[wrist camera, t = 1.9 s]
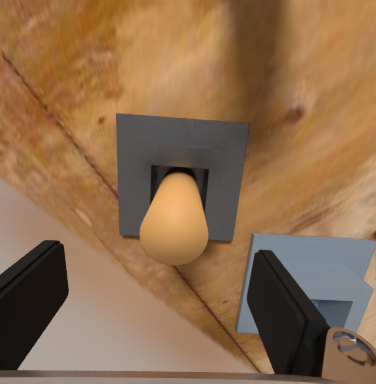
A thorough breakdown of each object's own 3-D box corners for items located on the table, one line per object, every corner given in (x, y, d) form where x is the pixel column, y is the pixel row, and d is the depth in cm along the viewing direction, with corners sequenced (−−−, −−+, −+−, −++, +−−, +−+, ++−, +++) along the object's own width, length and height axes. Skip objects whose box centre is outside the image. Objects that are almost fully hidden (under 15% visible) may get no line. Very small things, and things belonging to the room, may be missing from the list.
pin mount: (247, 123, 25) (265, 121, 20) (230, 237, 30) (241, 262, 24) (118, 114, 25) (98, 108, 19) (121, 231, 29) (106, 255, 24)
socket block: (370, 239, 30) (414, 264, 24) (337, 331, 35) (367, 370, 30) (252, 232, 30) (268, 256, 24) (235, 327, 35) (245, 365, 29)
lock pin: (198, 167, 26) (211, 206, 12) (195, 200, 27) (205, 267, 14) (163, 165, 26) (139, 201, 12) (162, 198, 27) (139, 263, 14)
